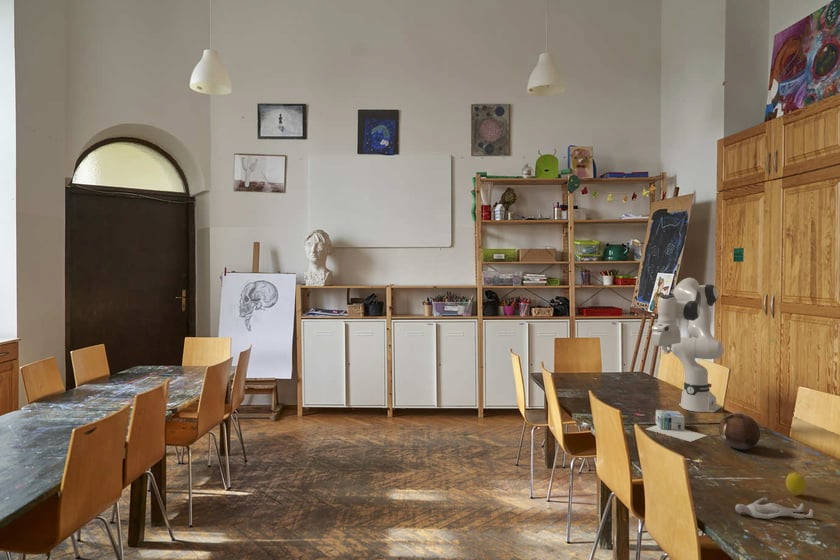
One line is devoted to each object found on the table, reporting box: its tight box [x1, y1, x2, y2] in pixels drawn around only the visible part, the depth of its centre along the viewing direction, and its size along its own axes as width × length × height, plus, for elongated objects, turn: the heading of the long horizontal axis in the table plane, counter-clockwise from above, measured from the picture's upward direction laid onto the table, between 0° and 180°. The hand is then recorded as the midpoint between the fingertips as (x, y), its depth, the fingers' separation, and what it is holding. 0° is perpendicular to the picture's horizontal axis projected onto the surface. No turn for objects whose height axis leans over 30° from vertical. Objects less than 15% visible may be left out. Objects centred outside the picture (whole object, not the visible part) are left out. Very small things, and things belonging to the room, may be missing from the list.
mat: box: [645, 424, 708, 443], centre depth 242 cm, size 14×22×1 cm, turn 34°
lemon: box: [785, 472, 807, 497], centre depth 174 cm, size 6×6×8 cm
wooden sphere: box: [718, 412, 761, 450], centre depth 220 cm, size 15×15×15 cm
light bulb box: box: [654, 409, 685, 431], centre depth 249 cm, size 11×7×11 cm
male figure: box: [734, 497, 814, 520], centre depth 161 cm, size 10×4×22 cm
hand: (666, 353), depth 261 cm, fingers closed
